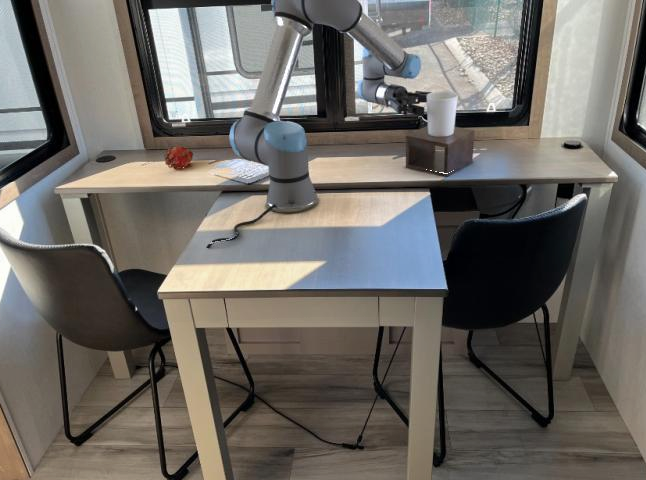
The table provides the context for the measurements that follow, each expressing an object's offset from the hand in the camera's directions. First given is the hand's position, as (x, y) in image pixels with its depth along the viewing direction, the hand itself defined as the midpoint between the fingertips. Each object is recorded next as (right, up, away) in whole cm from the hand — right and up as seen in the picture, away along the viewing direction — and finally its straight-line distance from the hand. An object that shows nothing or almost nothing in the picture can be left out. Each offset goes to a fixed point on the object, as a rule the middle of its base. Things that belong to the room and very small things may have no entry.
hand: (438, 107), depth 188 cm
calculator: (-65, -18, +14) cm, 69 cm away
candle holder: (+1, -7, +4) cm, 8 cm away
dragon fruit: (-88, -14, +23) cm, 92 cm away
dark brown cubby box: (+2, -16, +10) cm, 19 cm away
